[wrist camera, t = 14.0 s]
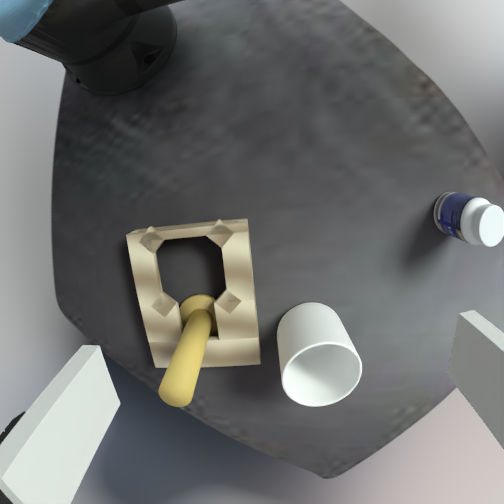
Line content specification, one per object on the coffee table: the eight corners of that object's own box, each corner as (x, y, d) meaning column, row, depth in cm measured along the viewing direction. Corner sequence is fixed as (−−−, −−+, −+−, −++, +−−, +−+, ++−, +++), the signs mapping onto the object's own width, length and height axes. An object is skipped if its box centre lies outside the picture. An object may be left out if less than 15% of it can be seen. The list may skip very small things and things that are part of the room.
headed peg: (175, 295, 40) (133, 365, 25) (223, 291, 40) (203, 365, 25) (183, 337, 42) (151, 417, 26) (229, 335, 42) (215, 419, 26)
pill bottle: (428, 229, 38) (470, 248, 28) (435, 187, 36) (480, 195, 27) (459, 236, 38) (503, 254, 28) (467, 196, 36) (513, 205, 27)
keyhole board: (135, 225, 38) (125, 230, 35) (247, 213, 38) (246, 217, 35) (161, 355, 43) (155, 367, 40) (260, 351, 42) (260, 364, 39)
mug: (292, 381, 44) (300, 433, 33) (268, 311, 41) (271, 357, 30) (349, 363, 43) (370, 411, 32) (332, 291, 40) (355, 331, 30)
